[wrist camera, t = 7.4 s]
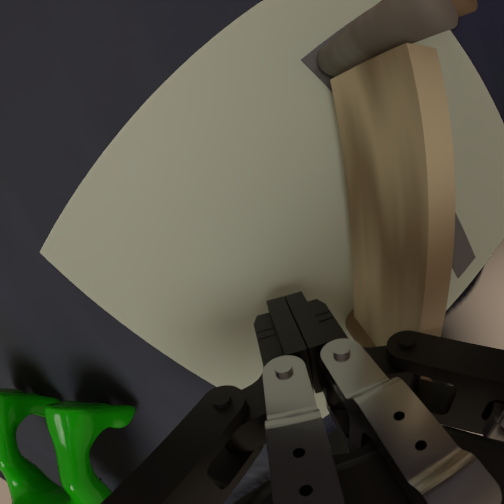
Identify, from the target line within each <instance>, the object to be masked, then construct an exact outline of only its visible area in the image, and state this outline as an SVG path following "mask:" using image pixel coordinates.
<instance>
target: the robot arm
mask: <svg viewBox="0 0 504 504" xmlns="http://www.w3.org/2000/svg"><path fill="white" fill-rule="evenodd" d="M266 303H267V307H268V311H269V313H265V314H261V315H258V316H257V317H256V319H255V322H254V328H255V333H256V337H257V341H258V345H259V350H260V354H261V358H262V363H263V372H262V374H261V376H260V377H259V379H258V380H257V381H256V382H254V383H253V384H251V385H250V386H248V387H246V388H244V389H242V390H241V389H239V388H238V387H235V386H231V385H224V386H219V387H216V388H214V389H212V390H210V391H209V392H208V393H207V394H205V396H204V397H203V398H202V399H201V400H200V401H199V402H198V403H197V405H196V406H195V407H194V408H193V409H192V410H191V411H190V412H189V414H188V415H187V416H186V417H185V418H184V419H183V420H182V421H181V422H180V423H179V425H178V426H177V427H176V428H175V429H174V430H173V431H172V432H171V433H170V434H169V435H168V436H167V437H166V439H165V440H164V441H163V442H162V443H161V444H160V445H159V446H158V447H157V448H156V449H155V450H154V451H153V452H152V453H151V454H150V455H149V456H148V457H147V458H146V459H145V460H144V462H143V463H142V464H141V465H140V466H139V467H138V468H137V469H136V470H135V471H134V472H133V473H132V474H131V475H130V476H129V477H128V478H127V479H126V480H125V481H124V482H123V483H122V484H121V485H120V486H118V487H117V488H116V489H115V490H114V491H113V492H112V493H111V494H110V495H109V496H108V497H107V498H106V499H105V500H104V501H103V502H102V503H101V504H223V503H224V502H225V500H226V499H227V498H228V496H229V495H230V494H231V492H232V491H233V490H234V489H235V487H236V486H237V484H238V483H239V482H240V480H241V479H242V478H243V476H244V475H245V474H246V472H247V471H248V469H249V468H250V466H251V465H252V464H253V462H254V461H255V459H256V458H257V456H258V455H259V453H260V452H261V450H262V449H263V445H264V444H266V443H267V450H268V460H269V470H270V479H271V480H270V481H268V482H267V483H265V484H264V485H262V486H261V487H260V488H259V489H258V490H257V491H255V492H254V494H253V495H252V496H251V497H250V498H249V499H248V501H247V502H246V504H504V350H501V349H496V348H491V347H486V346H481V345H476V344H470V343H466V342H461V341H456V340H451V339H447V338H442V337H438V336H433V335H429V334H424V333H420V332H416V331H409V330H406V331H400V332H397V333H395V334H393V335H392V336H391V337H390V338H389V339H388V341H387V345H386V346H379V347H362V346H361V345H360V344H359V343H358V342H357V341H355V340H352V339H349V338H348V337H347V335H346V334H345V332H344V331H343V329H342V328H341V326H340V325H339V323H338V322H337V320H336V319H335V318H334V316H333V314H332V313H331V312H330V310H329V308H328V307H327V305H326V304H325V303H323V302H321V301H320V300H318V299H314V300H311V301H308V302H307V300H306V298H305V296H304V295H303V293H302V292H301V291H299V292H296V293H292V294H289V295H285V296H284V297H283V296H282V297H278V298H275V299H271V300H267V301H266ZM421 376H424V377H428V378H432V379H436V380H439V381H443V382H447V383H451V384H453V385H454V386H447V385H443V384H439V383H435V382H431V381H428V380H424V379H421ZM313 388H314V390H313ZM314 391H315V393H316V394H317V393H320V392H323V394H324V396H325V399H326V407H327V409H328V411H329V413H330V415H331V417H332V419H333V421H334V422H335V424H336V426H337V428H338V430H339V431H340V433H341V435H342V437H343V439H344V441H345V443H346V445H347V448H348V451H349V453H348V454H340V455H332V453H331V449H330V445H329V442H328V438H327V434H326V431H325V427H324V423H323V420H322V416H321V413H320V410H319V409H318V408H317V405H316V401H315V397H314ZM440 424H443V425H440ZM444 425H446V426H444ZM448 426H450V427H448ZM452 427H454V428H452ZM455 428H458V429H455ZM459 429H462V430H466V431H470V432H475V433H479V434H483V436H480V435H476V434H472V433H469V432H466V431H462V430H459Z"/></svg>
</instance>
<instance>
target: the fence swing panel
mask: <svg viewBox="0 0 504 504" xmlns="http://www.w3.org/2000/svg"><path fill="white" fill-rule="evenodd" d="M457 24H458V14H457V10H456V8H455V5H454V3H453V2H452V0H383V1H382V2H380V3H379V4H378V5H376V6H375V7H374V8H372V9H371V10H369V11H368V12H367V13H365V14H364V15H363V16H362V17H360V18H359V19H358V20H356V21H355V22H354V23H353V24H351V25H350V26H349V27H347V28H346V29H345V30H344V31H343V32H341V33H340V34H339V35H338V36H336V37H335V38H334V39H333V40H332V41H330V42H329V43H328V44H327V45H326V46H324V47H323V48H322V49H321V50H320V51H319V53H318V55H317V62H318V65H319V67H320V68H321V70H322V71H323V72H325V73H326V74H328V75H330V76H333V77H334V78H332V79H331V80H330V82H331V87H332V92H333V98H334V103H335V109H336V114H337V120H338V126H339V132H340V139H341V146H342V153H343V160H344V168H345V177H346V185H347V195H348V205H349V216H350V229H351V244H352V263H353V293H354V309H353V310H352V311H351V312H350V313H349V314H348V316H347V318H346V321H345V326H346V329H347V330H348V332H349V333H350V335H351V336H352V338H353V339H354V340H355V341H357V342H358V343H359V344H360V345H361V346H362V347H379V346H386V345H387V341H388V339H389V338H390V337H391V336H392V335H393V334H395V333H397V332H400V331H406V330H409V331H416V332H420V333H424V334H429V335H433V336H438V337H441V333H442V328H443V323H444V318H445V312H446V306H447V300H448V293H449V286H450V279H451V270H452V260H453V249H454V233H455V167H454V152H453V140H452V130H451V122H450V115H449V108H448V101H447V96H446V90H445V85H444V80H443V75H442V70H441V66H440V62H439V57H438V53H437V50H436V48H433V47H428V46H423V45H417V44H413V43H415V42H418V41H420V40H423V39H426V38H428V37H431V36H434V35H436V34H439V33H442V32H445V31H448V30H451V29H453V28H455V27H456V26H457ZM421 379H424V380H428V381H431V382H433V381H432V380H431V379H430V378H428V377H424V376H421Z"/></svg>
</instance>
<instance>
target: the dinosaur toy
mask: <svg viewBox="0 0 504 504" xmlns="http://www.w3.org/2000/svg"><path fill="white" fill-rule="evenodd" d="M135 412H136V408H135V407H134V406H131V405H109V404H107V403H82V402H80V401H64V402H60V401H59V399H57V398H53V397H47V396H42V395H40V394H36V393H28V392H21V391H19V390H16V389H10V388H0V470H1V471H2V473H3V474H4V476H5V478H6V481H7V483H8V486H9V490H10V493H11V498H12V504H101V503H102V502H103V501H104V500H105V499H106V498H107V497H108V496H109V495H110V494H111V493H112V491H111V490H110V489H109V488H108V487H107V486H106V485H105V484H104V483H103V482H102V481H101V478H100V479H99V478H98V477H97V476H96V474H95V473H94V471H93V468H92V466H91V462H90V450H91V447H92V445H93V443H94V441H95V440H96V438H97V437H98V436H99V435H100V433H101V432H102V431H104V430H105V429H106V428H108V427H111V428H123V427H125V426H127V425H128V424H129V423H130V421H131V420H132V418H133V416H134V414H135ZM31 414H34V415H37V416H40V417H45V418H46V423H47V427H48V430H49V433H50V435H51V438H52V441H53V444H54V447H55V452H56V457H57V463H58V469H59V476H60V481H61V484H62V486H63V487H61V486H59V485H57V484H56V483H54V482H53V481H52V480H50V479H49V478H48V477H47V476H46V475H45V474H44V473H43V472H42V471H41V470H40V469H39V468H38V467H37V466H36V465H35V464H33V463H32V462H30V461H29V460H28V459H26V458H25V457H24V456H22V454H21V453H20V451H19V449H18V446H17V442H16V431H17V428H18V426H19V424H20V423H21V422H22V421H23V419H24V418H25V417H27V416H28V415H31Z"/></svg>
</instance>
